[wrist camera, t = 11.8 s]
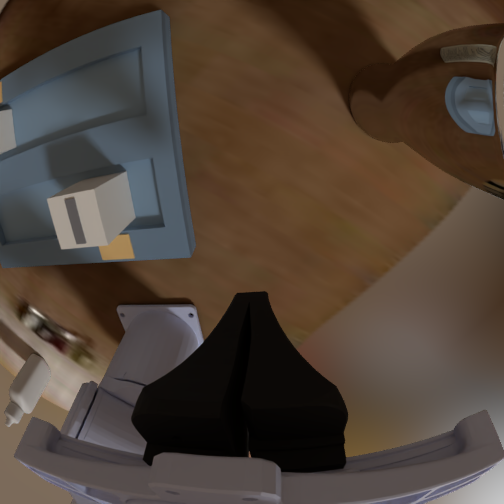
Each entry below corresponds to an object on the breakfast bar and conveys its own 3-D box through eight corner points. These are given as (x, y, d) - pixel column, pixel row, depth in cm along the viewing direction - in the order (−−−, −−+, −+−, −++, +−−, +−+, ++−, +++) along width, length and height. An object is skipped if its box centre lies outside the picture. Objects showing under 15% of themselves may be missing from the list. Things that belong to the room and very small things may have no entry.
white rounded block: (27, 363, 33) (-6, 418, 22) (33, 349, 31) (-6, 410, 20) (49, 380, 34) (18, 438, 24) (57, 368, 32) (22, 432, 22)
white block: (135, 217, 21) (107, 246, 17) (93, 222, 21) (60, 250, 17) (126, 171, 19) (93, 189, 15) (83, 179, 20) (45, 199, 15)
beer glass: (428, 147, 19) (583, 217, 6) (347, 150, 20) (487, 234, 6) (419, 61, 16) (580, 49, 2) (335, 57, 16) (468, -15, 3)
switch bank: (195, 245, 23) (190, 258, 21) (13, 259, 24) (2, 268, 23) (169, 17, 15) (160, 9, 13) (-21, 102, 16) (-35, 104, 15)
